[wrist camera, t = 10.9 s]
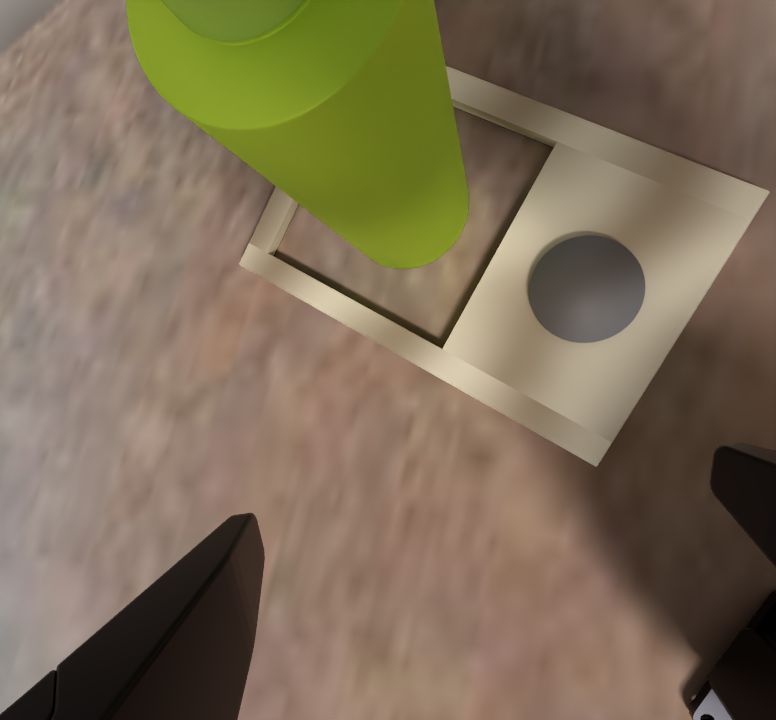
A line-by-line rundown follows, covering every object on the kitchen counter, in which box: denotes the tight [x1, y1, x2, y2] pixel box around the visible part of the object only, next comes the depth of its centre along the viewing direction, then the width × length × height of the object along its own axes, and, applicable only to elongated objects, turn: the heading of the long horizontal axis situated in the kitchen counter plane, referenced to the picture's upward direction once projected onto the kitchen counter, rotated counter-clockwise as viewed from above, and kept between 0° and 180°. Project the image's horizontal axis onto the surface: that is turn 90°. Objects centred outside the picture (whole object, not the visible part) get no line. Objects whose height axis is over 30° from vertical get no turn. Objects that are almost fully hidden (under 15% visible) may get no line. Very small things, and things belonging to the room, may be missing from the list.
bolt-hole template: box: [239, 66, 770, 467], centre depth 19 cm, size 19×12×1 cm, turn 61°
